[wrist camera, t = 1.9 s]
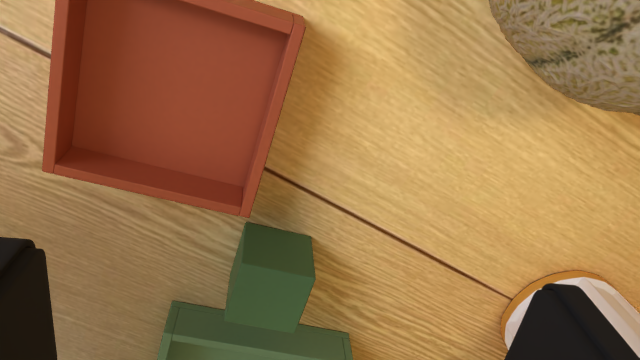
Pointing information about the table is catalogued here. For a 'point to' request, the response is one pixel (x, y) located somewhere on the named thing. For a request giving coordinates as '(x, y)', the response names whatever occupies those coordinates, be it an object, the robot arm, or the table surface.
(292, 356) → the green tray
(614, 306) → the cup
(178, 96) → the terracotta tray
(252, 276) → the green block
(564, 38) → the cantaloupe
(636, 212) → the table surface
